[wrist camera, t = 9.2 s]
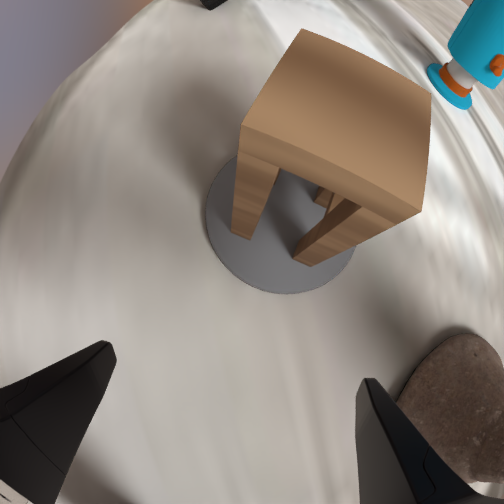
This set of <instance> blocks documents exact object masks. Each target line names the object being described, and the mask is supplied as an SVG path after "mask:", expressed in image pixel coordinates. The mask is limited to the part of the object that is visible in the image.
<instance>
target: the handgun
mask: <svg viewBox="0 0 504 504" xmlns="http://www.w3.org/2000/svg"><path fill="white" fill-rule="evenodd" d="M200 1H201V2H202V3H203V4H204V5H205V6H206V7H207V8H208V9H209V10H213V9H214V8H216V7H217V6H219V5H221V4H222V3H224V2H226V1H227V0H200Z"/></svg>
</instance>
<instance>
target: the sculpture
mask: <svg viewBox="0 0 504 504" xmlns="http://www.w3.org/2000/svg"><path fill="white" fill-rule="evenodd" d="M396 404H397V405H398V406H399V407H400V409H401V410H402V411H403V412H404V413H405V415H406V416H407V417H408V418H409V419H410V421H411V422H412V423H413V424H414V426H415V427H416V428H417V429H418V430H419V432H420V433H421V434H422V435H423V437H424V438H425V439H426V440H427V441H428V443H429V445H431V446H432V447H433V449H434V450H435V451H436V452H437V454H438V455H439V456H440V457H441V458H442V459H443V460H444V462H445V463H446V464H447V465H448V466H449V467H450V468H451V469H452V470H453V471H454V472H455V473H456V474H457V475H458V476H460V477H461V478H462V479H463V480H464V481H465V482H466V483H474V482H477V481H479V482H492V483H499V484H503V483H504V368H503V364H502V361H501V359H500V357H499V355H498V353H497V352H496V351H495V349H494V348H493V347H492V346H491V345H490V344H489V343H488V342H487V341H486V340H484V339H483V338H482V337H480V336H478V335H475V334H468V333H467V334H460V335H455V336H452V337H450V338H449V339H447V340H445V341H444V342H443V343H441V344H440V345H439V346H438V347H437V348H436V349H435V350H433V351H432V352H431V353H430V354H429V355H428V356H427V357H426V358H425V359H423V361H422V362H421V363H420V365H419V366H417V369H415V370H414V373H413V375H412V376H411V377H410V379H409V381H408V382H407V384H406V386H405V388H404V390H403V391H402V393H401V395H400V396H399V398H398V399H397V401H396Z"/></svg>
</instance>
